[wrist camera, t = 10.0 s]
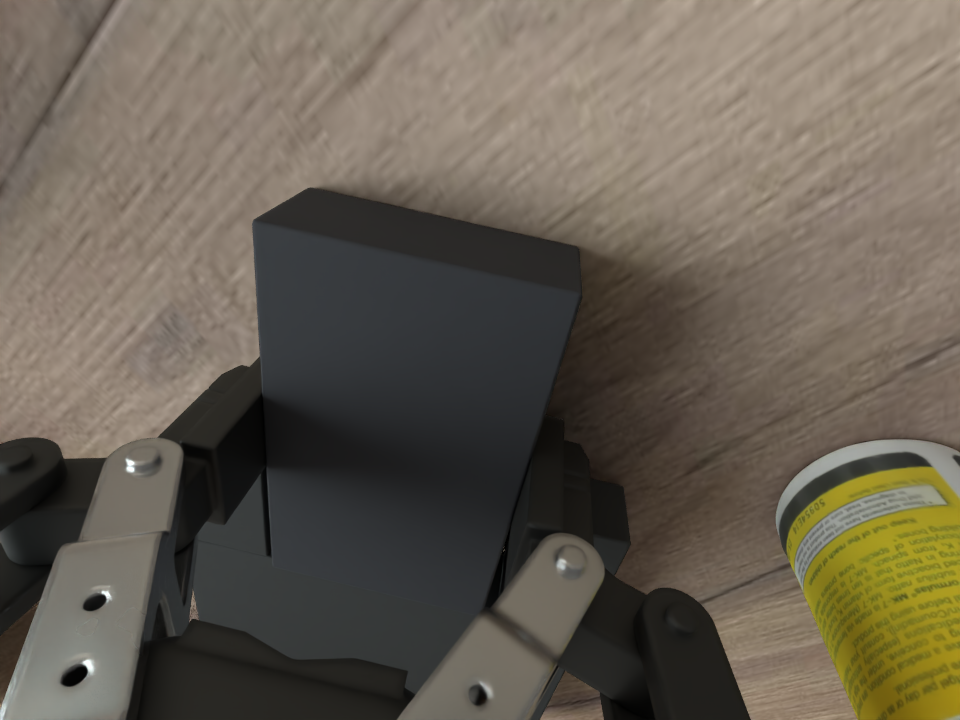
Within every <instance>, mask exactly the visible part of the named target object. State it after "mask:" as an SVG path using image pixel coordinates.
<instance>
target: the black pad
mask: <svg viewBox="0 0 960 720" xmlns="http://www.w3.org/2000/svg"><path fill="white" fill-rule="evenodd" d="M207 390H208V389H207ZM197 400H198V398H197V399H196V401H197ZM589 480H590V488H591V490H590V493H591V506H592V523H593V541H594V548H595V550H596V551H597V552H598V553H599V555H600V557H601V559H602V561H603V564H604V567H605V568H606V569H607V570H608V571H609V572H610V573H611V574H612V575H613V576H615V574H616V572H617V570H618V568H619V566H620V564H621V562H622V560H623V558H624V556H625V555H626V553H627V551H628V549H629V547H630V545H631V541H630V533H629V525H628V517H627V510H626V502H625V494H624V487H623V486H620V485H616V484H611V483H607V482H603V481H599V480H594V479H590V478H589ZM197 535H198V549H197V558H196V566H195V574H194V582H193V591H194V596H195V601H196V606H197V611H198V616H199V620H200V621H204V622H208V623H212V624H217V625H221V626H225V627H229V628H233V629H237V630H241V631H245V632H247V633H249V634H250V635H252V636H254V637H255V638H257V639H259V640H260V641H262V642H264V643H265V644H267V645H269V646H271V647H272V648H274V649H276V650H277V651H279V652H281V653H282V654H284V655H286V656H287V657H289V658H292V659H297V660H305V659H338V658H357V659H361V660H365V661H369V662H373V663H378V664H382V665H386V666H390V667H394V668H398V669H402V670H406V671H408V674H407V679H406V684H405V688H406V689H408V690H409V691H411V692H413V693H414V694H417V692H418V691H419V690H420V688H421V687H422V686H423V685H424V683H425V682H426V681H427V679H428V678H429V677H430V675H431V674H432V673H433V672H434V670H435V669H436V668H437V666H438V665H439V664H440V662H441V661H442V660H443V659H444V657H445V656H446V655H447V653H448V652H449V651H450V649H451V648H452V647H453V646H454V644H455V643H456V642H457V640H458V639H459V638H460V636H461V635H462V634H463V633H464V631H465V630H466V629H467V627H468V626H469V625H470V623H471V622H472V621H473V620H474V618H475V617H476V616H475V615H471V614H467V613H462V612H458V611H454V610H450V609H446V608H442V607H437V606H433V605H429V604H425V603H421V602H417V601H412V600H408V599H404V598H400V597H396V596H392V595H387V594H383V593H379V592H375V591H371V590H367V589H362V588H358V587H354V586H350V585H346V584H342V583H338V582H333V581H329V580H325V579H321V578H317V577H313V576H308V575H304V574H300V573H296V572H292V571H288V570H283V569H279V568H275V567H273V566H272V552H271V535H270V518H269V501H268V484H267V467H265V468H264V470H263V471H262V472H261V474H260V475H259V477H258V478H257V480H256V481H255V483H254V484H253V485H252V487H251V488H250V490H249V491H248V493H247V494H246V495H245V497H244V498H243V500H242V501H241V503H240V504H239V505H238V507H237V508H236V510H235V511H234V513H233V514H232V515H231V517H230V518H229V520H228V521H227V523H226V524H225V525H224V526H223V525H219V524H215V523H211V522H206V523H205V524H204V525H203V527H202V528H201V529H200V531H199V532H198V533H197ZM509 539H510V537H509ZM508 548H509V541H508V544H507V547H506V550H505V553H504V555H501V556H500V559H499V563H498V566H497V569H496V572H495V575H494V578H493V582H492V585H491V588H490V591H489V594H488V597H487V601H486V604H485V607H488V608H490V607H492V606H493V604H494V603H495V602H496V601H497V599H498V598H499V597H500V595H501V594H502V593H503V591H504V583H505V574H506V565H507V557H508ZM485 607H484V608H485ZM564 672H565V670H563V669H562V668H560V667H559V668H558V670H557V672H556V673H555V675H554V677H553V679H552V681H551V682H550V684H549V686H548V688H547V690H546V692H545V693H544V695H543V697H542V699H541V701H540V702H539V704H538V706H537V708H536V710H535V711H534V713H533V715H532V717H531V719H530V720H540V718H541V716H542V714H543V712H544V711H545V709H546V707H547V705H548V703H549V701H550V699H551V697H552V695H553V693H554V691H555V689H556V687H557V685H558V683H559V682H560V680H561V678H562V676H563V674H564Z"/></svg>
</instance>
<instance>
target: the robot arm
mask: <svg viewBox="0 0 960 720" xmlns="http://www.w3.org/2000/svg"><path fill="white" fill-rule="evenodd" d="M265 467H266V450H265V433H264V415H263V398H262V381H261V364H260V357H259V358H258V359H257V360H256V361H255V362H254V363H253V364H252V365H251V366H250V367H247V366H243V365H240V366H238V367H236V368H234V369H232V370H230V371H228V372H226V373H224V374H222V375H221V376H220V377H219V378H218V379H217V380H216V381H215V382H214V383H213V384H212V385H211V386H210V387H209V389H208V390H205V391H204V392H203V393H202V394H201V395H200V396H199V397H198V400H197V401H196V400H195V401H194V402H193V403H192V404H191V405H190V406H189V407H188V408H187V409H186V410H185V411H184V412H183V413H182V414H181V415H180V416H179V417H178V418H177V419H176V420H175V421H174V422H173V423H172V424H171V425H170V426H169V427H168V428H167V429H166V430H165V431H164V432H163V433H162V434H161V435H160V436H159V437H157V438H146V439H140V440H136V441H133V442H130V443H128V444H125V445H123V446H121V447H120V448H118V449H117V450H115V451H114V452H113V453H112V454H110V455H109V456H108V458H82V459H64V458H63V455H62V453H61V450H60V447H59V446H58V445H57V444H56V443H55V442H53V441H51V440H48V439H44V438H21V439H15V440H12V441H8V442H5V443H2V444H0V636H1V635H2V634H3V633H4V632H5V631H6V630H7V629H8V628H9V627H10V626H12V625H13V624H14V623H15V622H16V621H17V620H18V619H19V618H20V617H22V616H23V615H24V614H25V613H26V612H27V611H28V610H29V609H30V608H32V607H33V606H34V605H35V604H36V603H37V602H38V601H39V600H40V602H39V604H38V607H37V610H36V613H35V615H34V618H33V621H32V624H31V626H30V629H29V632H28V635H27V637H26V640H25V643H24V646H23V648H22V651H21V654H20V657H19V659H18V662H17V665H16V668H15V670H14V673H13V676H12V678H11V681H10V684H9V687H8V689H7V692H6V695H5V698H4V700H3V703H2V706H1V709H0V720H530V719H531V717H532V715H533V713H534V711H535V710H536V708H537V706H538V704H539V702H540V701H541V699H542V697H543V695H544V693H545V692H546V690H547V688H548V686H549V684H550V682H551V681H552V679H553V677H554V675H555V673H556V672H557V670H558V668H559V667H560V668H562V669H563V670H565V671H567V672H568V673H570V674H571V675H573V676H575V677H576V678H578V679H579V680H581V681H583V682H584V683H586V684H588V685H589V686H591V687H592V688H594V689H596V690H597V691H599V693H600V699H601V705H602V710H603V716H604V720H751V719H750V717H749V714H748V711H747V709H746V706H745V703H744V701H743V698H742V696H741V693H740V690H739V688H738V685H737V682H736V680H735V677H734V674H733V672H732V669H731V666H730V664H729V661H728V658H727V656H726V653H725V651H724V648H723V645H722V643H721V640H720V637H719V635H718V632H717V629H716V627H715V624H714V622H713V620H712V618H711V617H710V615H709V613H708V612H707V611H706V610H705V608H704V607H703V606H702V605H701V604H700V603H699V602H697V601H696V600H695V599H694V598H692V597H691V596H689V595H688V594H686V593H684V592H682V591H679V590H676V589H672V588H658V589H655V590H653V591H651V592H650V593H649V594H648V595H646V594H644V593H642V592H640V591H638V590H637V589H635V588H633V587H631V586H629V585H627V584H625V583H624V582H622V581H620V580H619V579H617V578H616V577H615V576H613V575H612V574H611V573H610V572H609V571H608V570H607V569H606V568H605V567H604V564H603V561H602V559H601V557H600V555H599V553H598V552H597V551H596V550H595V548H594V541H593V523H592V506H591V493H590V490H591V488H590V480H589V478H590V470H589V459H588V458H587V456H586V454H585V452H584V450H583V449H582V447H581V445H580V444H578V443H573V442H569V441H565V440H564V421H563V419H559V418H555V417H550V416H546V415H545V417H544V420H543V423H542V427H541V430H540V433H539V436H538V439H537V442H536V446H535V449H534V452H533V455H532V458H531V461H530V465H529V468H528V471H527V474H526V477H525V480H524V484H523V487H522V490H521V493H520V496H519V499H518V503H517V506H516V509H515V512H514V515H513V518H512V522H511V530H510V539H509V548H508V557H507V565H506V574H505V583H504V591H503V593H502V594H501V595H500V597H499V598H498V599H497V601H496V602H495V603H494V604H493V606H492V607H490V608H488V607H485V608H484V609H482V610H481V611H480V612H479V613H478V615H477V616H476V617H475V618H474V620H473V621H472V622H471V623H470V625H469V626H468V627H467V629H466V630H465V631H464V633H463V634H462V635H461V636H460V638H459V639H458V640H457V642H456V643H455V644H454V646H453V647H452V648H451V649H450V651H449V652H448V653H447V655H446V656H445V657H444V659H443V660H442V661H441V662H440V664H439V665H438V666H437V668H436V669H435V670H434V672H433V673H432V674H431V675H430V677H429V678H428V679H427V681H426V682H425V683H424V685H423V686H422V687H421V688H420V690H419V691H418V692H417V694H414V693H413V692H411V691H409V690H408V689H406V688H405V684H406V679H407V674H408V671H406V670H402V669H398V668H394V667H390V666H386V665H382V664H378V663H373V662H369V661H365V660H361V659H357V658H338V659H305V660H297V659H292V658H289V657H287V656H286V655H284V654H282V653H281V652H279V651H277V650H276V649H274V648H272V647H271V646H269V645H267V644H265V643H264V642H262V641H260V640H259V639H257V638H255V637H254V636H252V635H250V634H249V633H247V632H245V631H241V630H237V629H233V628H229V627H225V626H221V625H217V624H212V623H208V622H204V621H200V620H196V619H192V620H191V622H190V623H189V616H190V607H191V599H192V590H193V582H194V574H195V566H196V558H197V549H198V535H197V533H198V532H199V531H200V529H201V528H202V527H203V525H204V524H205V523H206V522H211V523H215V524H219V525H223V526H224V525H225V524H226V523H227V521H228V520H229V518H230V517H231V515H232V514H233V513H234V511H235V510H236V508H237V507H238V505H239V504H240V503H241V501H242V500H243V498H244V497H245V495H246V494H247V493H248V491H249V490H250V488H251V487H252V485H253V484H254V483H255V481H256V480H257V478H258V477H259V475H260V474H261V472H262V471H263V470H264V468H265Z"/></svg>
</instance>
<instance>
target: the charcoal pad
mask: <svg viewBox="0 0 960 720" xmlns="http://www.w3.org/2000/svg"><path fill="white" fill-rule="evenodd" d="M252 228H253V245H254V262H255V279H256V296H257V313H258V330H259V347H260V364H261V381H262V398H263V415H264V433H265V450H266V467H267V484H268V501H269V518H270V535H271V552H272V566H273V567H275V568H279V569H283V570H288V571H292V572H296V573H300V574H304V575H308V576H313V577H317V578H321V579H325V580H329V581H333V582H338V583H342V584H346V585H350V586H354V587H358V588H362V589H367V590H371V591H375V592H379V593H383V594H387V595H392V596H396V597H400V598H404V599H408V600H412V601H417V602H421V603H425V604H429V605H433V606H437V607H442V608H446V609H450V610H454V611H458V612H462V613H467V614H471V615H475V616H477V615H478V613H479V612H480V611H481V610H482V609H484V607H485V604H486V601H487V597H488V594H489V591H490V588H491V585H492V582H493V578H494V575H495V572H496V569H497V566H498V563H499V559H500V556H501V553H502V550H503V547H504V544H505V541H506V537H507V534H508V531H509V528H510V525H511V522H512V518H513V515H514V512H515V509H516V506H517V503H518V499H519V496H520V493H521V490H522V487H523V484H524V480H525V477H526V474H527V471H528V468H529V465H530V461H531V458H532V455H533V452H534V449H535V446H536V442H537V439H538V436H539V433H540V430H541V427H542V423H543V420H544V417H545V414H546V411H547V408H548V405H549V401H550V398H551V395H552V392H553V389H554V386H555V382H556V379H557V376H558V373H559V370H560V367H561V363H562V360H563V357H564V354H565V351H566V348H567V344H568V341H569V338H570V335H571V332H572V329H573V325H574V322H575V319H576V316H577V313H578V310H579V306H580V303H581V300H582V282H581V266H580V251H579V248H578V247H576V246H571V245H567V244H562V243H558V242H553V241H549V240H544V239H540V238H535V237H531V236H526V235H522V234H517V233H513V232H508V231H504V230H499V229H495V228H490V227H486V226H481V225H477V224H472V223H468V222H463V221H459V220H455V219H450V218H446V217H441V216H437V215H432V214H428V213H423V212H419V211H414V210H410V209H405V208H401V207H396V206H392V205H387V204H383V203H378V202H374V201H369V200H365V199H360V198H356V197H351V196H347V195H342V194H338V193H333V192H329V191H324V190H320V189H315V188H307V189H306V190H304V191H302V192H301V193H299V194H297V195H295V196H294V197H292V198H290V199H289V200H287V201H285V202H283V203H282V204H280V205H278V206H277V207H275V208H273V209H271V210H270V211H268V212H266V213H265V214H263V215H261V216H259V217H258V218H256V219H254V220H253V223H252Z"/></svg>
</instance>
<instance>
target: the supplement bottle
mask: <svg viewBox="0 0 960 720" xmlns="http://www.w3.org/2000/svg"><path fill="white" fill-rule="evenodd" d="M776 527H777V531H778V534H779V537H780V540H781V544H782V547H783V549H784V552H785V554H786V555H787V557H788V559H789V561H790V564H791V566H792V569H793V571H794V573H795V575H796V577H797V580H798V582H799V585H800V587H801V589H802V592H803V594H804V596H805V598H806V600H807V603H808V605H809V607H810V609H811V612H812V614H813V616H814V619H815V621H816V623H817V626H818V628H819V631H820V633H821V635H822V638H823V640H824V642H825V645H826V647H827V649H828V652H829V654H830V656H831V659H832V661H833V663H834V665H835V668H836V670H837V672H838V674H839V677H840V679H841V681H842V683H843V686H844V688H845V690H846V693H847V695H848V698H849V700H850V702H851V705H852V707H853V709H854V712H855V714H856V716H857V719H858V720H960V452H959V451H957V450H954V449H952V448H950V447H947V446H944V445H941V444H937V443H934V442H928V441H922V440H909V439H890V440H876V441H869V442H863V443H859V444H854V445H851V446H847V447H844V448H841V449H839V450H836V451H834V452H831V453H829V454H827V455H825V456H823V457H821V458H820V459H818V460H816V461H814V462H813V463H811V464H810V465H808V466H807V467H806V468H804V469H803V470H802V471H801V472H800V473H798V474H797V475H796V476H795V477H794V478H793V480H792V481H791V482H790V483H789V484H788V486H787V487H786V489H785V490H784V492H783V494H782V495H781V498H780V500H779V503H778V507H777V511H776Z"/></svg>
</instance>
